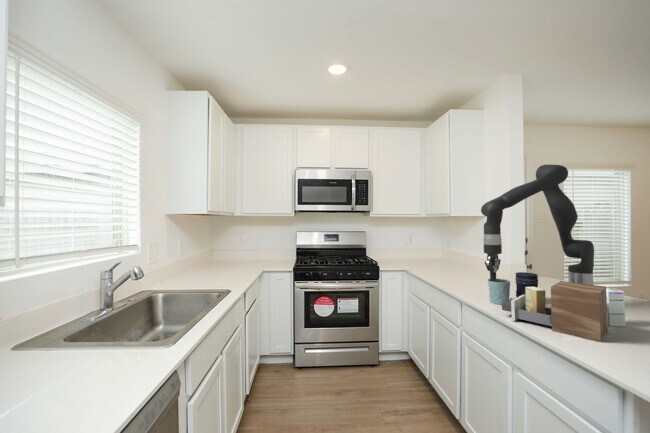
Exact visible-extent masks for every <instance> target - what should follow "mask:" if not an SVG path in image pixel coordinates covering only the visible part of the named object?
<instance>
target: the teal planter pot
mask: <svg viewBox="0 0 650 433" xmlns="http://www.w3.org/2000/svg"><path fill="white" fill-rule="evenodd" d="M487 283H488V290H489V292H488V293H489V299H490V300H489V301H490V303H492V304H493V305H497V306H502V303H504V302H506V301H508V300H510V292H511V291H510V290H511V289H510V288H511V280H509V279H505V278H497V277H496V280H491V279H490V278H488V280H487Z"/></svg>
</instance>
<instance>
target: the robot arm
mask: <svg viewBox="0 0 650 433" xmlns="http://www.w3.org/2000/svg"><path fill="white" fill-rule="evenodd" d="M568 176H569V170H568V168H567V167H566V166H564V165H562V164H542V165H540V166H539V167H537V169H536V170H535V178H536V179H535V180H532V181H530V182H526V183H524V184H521V185H519V186H516V187H513V188H512V189H510V190H507V191H506V192H505V193H503V194H501V195H500V196H497V197H495V198H493V199H491V200H488V201H487V202H485V203H484V204H483V205H482V206H481V208H480V212H481V214H482V215H483V216H484V217H486V222H484V224H483V243H482V244H483V253H484V254H487V256H486V260H485V261H484V265H485V267H486V269H487V271H488V272H489V276H490V277H489V279H491V280H496V278H497V272H498V271H499V268H500V265H501V261H502V260H501V258H500V257H499V255H501V254H503V252H502V251H503V249H502V243H503V242H502V232H501V230H502V229H501V228H502V227H501V224H502V220H503V215H504V210H505V209H508V208H512V207H513V206H515V205H517V204H519V203H520V202H522V201H524V200H526V199H528V198H529V197H532V196H533V195H536V194H538V193H540V192H543V195H544V197H545V199H546V202H547V204H548V207H549V211H550V213H551V217H552V219H553V221H554V224H555V225H556V230H557V232H558V235H559V239H560V242H561V247H562V251H563V253H564V255H565V256H566V257H568V258H571V259H572V258H573V259H580V262H578V263H575V264H570V265H568V267H567V270H568V271H567V272H568V275H567V276H568V282H573V283H581V284H589V285H594V266H595V264H594V263H595V262H594V261H595V246H594V244H593V241H591V240H587V239H586V240H585V239H573V236H572V230H573V228H574V226H576V223H577V221H578V218H579V216H578V212H577V210H576V207H575V205H574V203H573V201H572V200H571V199H570V198H569V197H568V196H567V195H566V193H564V192H563V190H562V189H561V188H560V186H559V185H560V184H562V183H564V182H565V181H566V180H567V178H568Z"/></svg>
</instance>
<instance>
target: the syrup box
mask: <svg viewBox="0 0 650 433" xmlns="http://www.w3.org/2000/svg"><path fill="white" fill-rule="evenodd" d="M606 298H607V326H610V327H626V325H627V324H626V311H625V310H626V308H625V306H626V305H625V291H623V290H620V289H617V288H613V287H606Z"/></svg>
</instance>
